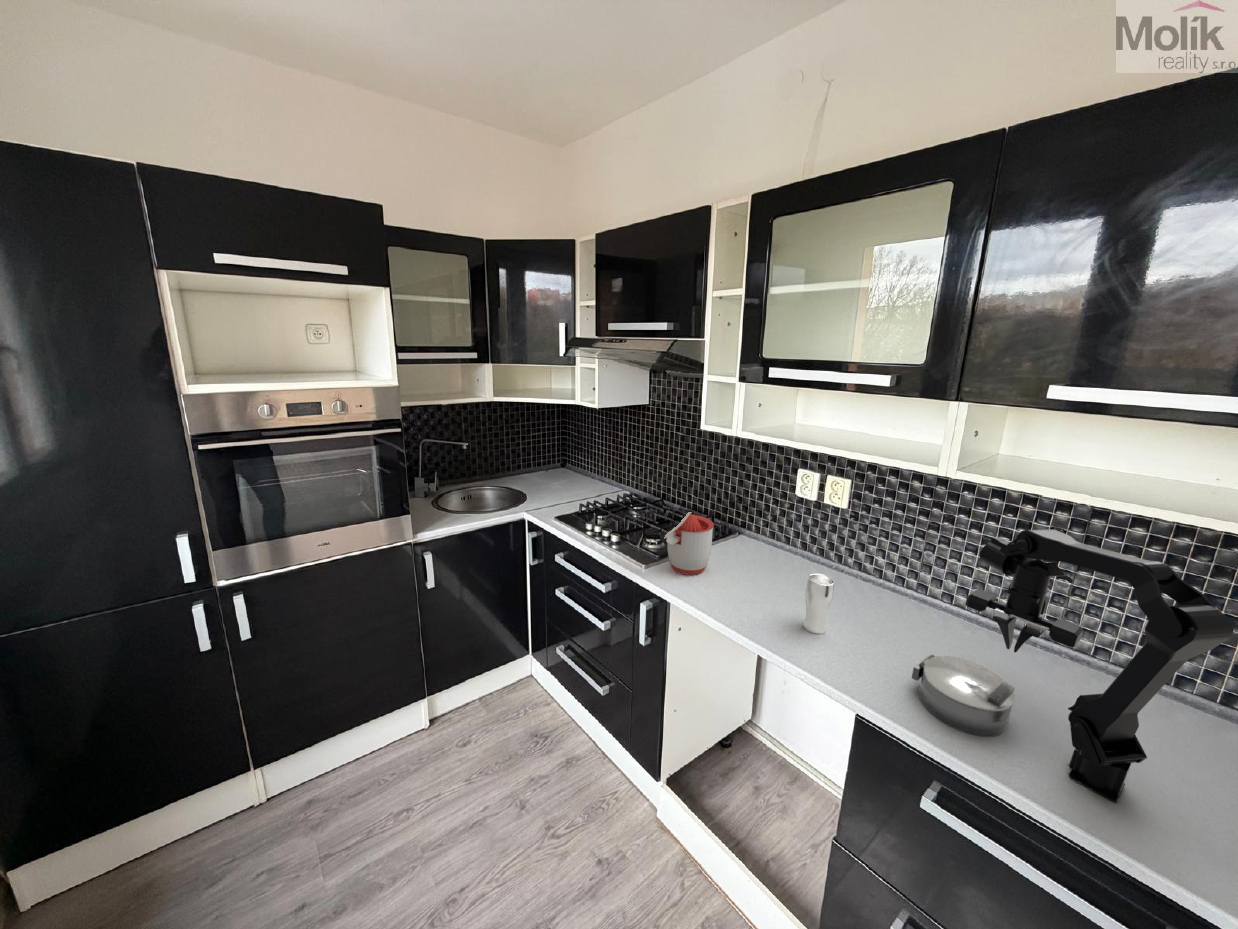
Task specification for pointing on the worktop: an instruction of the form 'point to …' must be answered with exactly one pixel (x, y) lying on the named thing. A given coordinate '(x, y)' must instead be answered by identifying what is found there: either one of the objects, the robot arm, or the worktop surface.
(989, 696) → the lid
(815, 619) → the beer glass
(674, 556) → the citrus juicer
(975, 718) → the pot
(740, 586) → the worktop surface
